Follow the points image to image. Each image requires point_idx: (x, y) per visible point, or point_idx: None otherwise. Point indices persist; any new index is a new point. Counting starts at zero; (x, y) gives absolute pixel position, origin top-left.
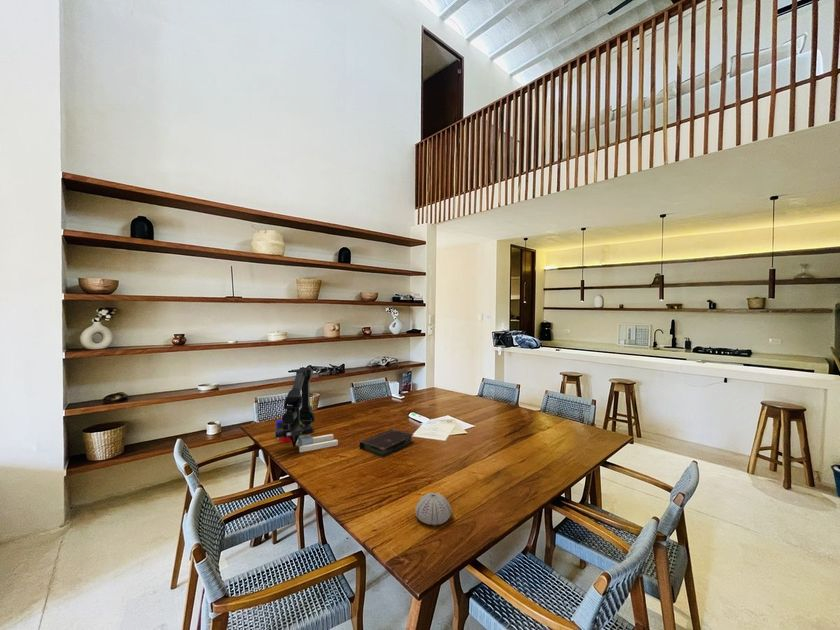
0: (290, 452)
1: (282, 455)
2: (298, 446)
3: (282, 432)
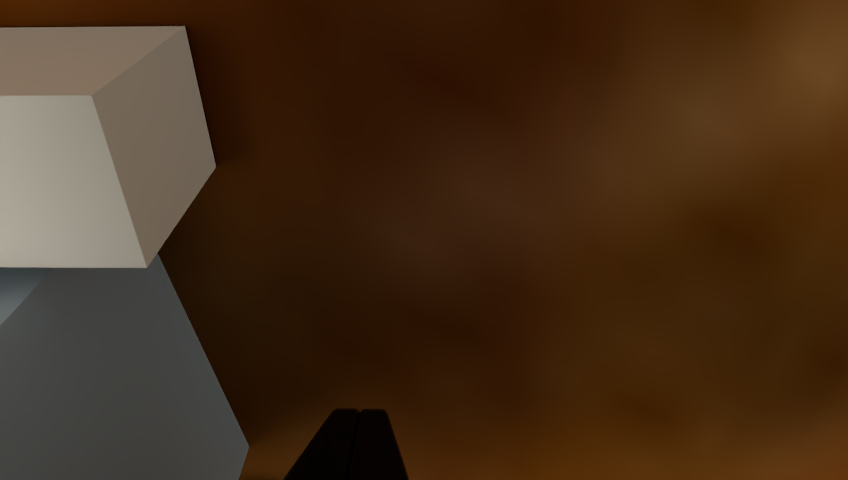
0: (511, 190)
1: (844, 59)
2: (245, 447)
3: None
